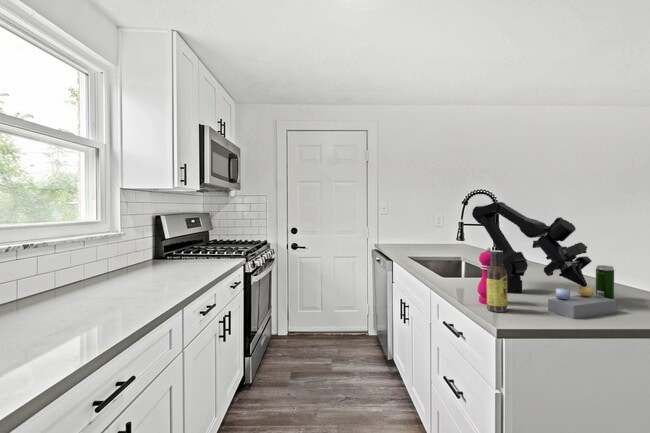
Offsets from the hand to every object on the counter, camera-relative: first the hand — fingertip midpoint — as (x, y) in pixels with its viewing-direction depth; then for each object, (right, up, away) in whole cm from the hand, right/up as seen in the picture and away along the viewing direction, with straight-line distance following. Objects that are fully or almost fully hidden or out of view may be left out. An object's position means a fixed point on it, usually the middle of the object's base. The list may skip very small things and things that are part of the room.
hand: (585, 286), depth 126 cm
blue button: (-9, -6, -3) cm, 12 cm away
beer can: (+15, -7, +11) cm, 20 cm away
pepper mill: (-28, -8, +10) cm, 31 cm away
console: (-4, -8, -4) cm, 9 cm away
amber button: (0, -6, 0) cm, 6 cm away
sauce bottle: (-30, -8, 0) cm, 31 cm away
